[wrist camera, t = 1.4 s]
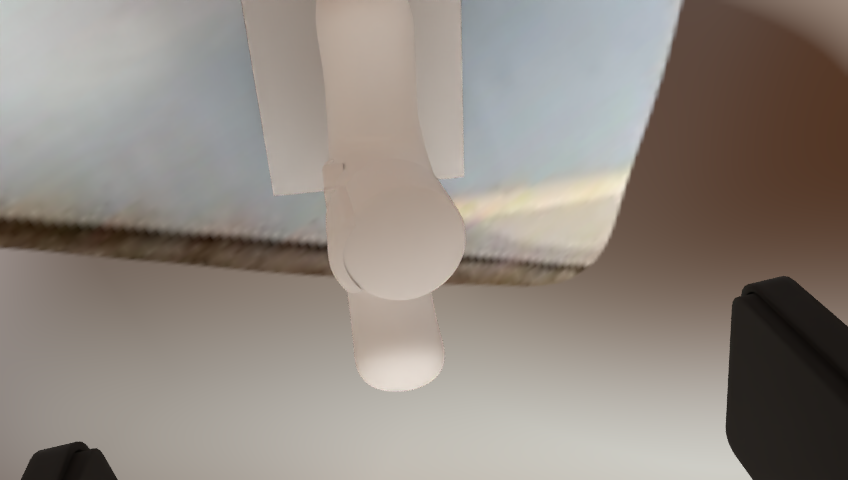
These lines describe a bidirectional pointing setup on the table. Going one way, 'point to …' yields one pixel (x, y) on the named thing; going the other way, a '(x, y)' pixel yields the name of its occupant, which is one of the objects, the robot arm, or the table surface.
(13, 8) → the table surface
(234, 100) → the table surface
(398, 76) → the figurine
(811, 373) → the robot arm
